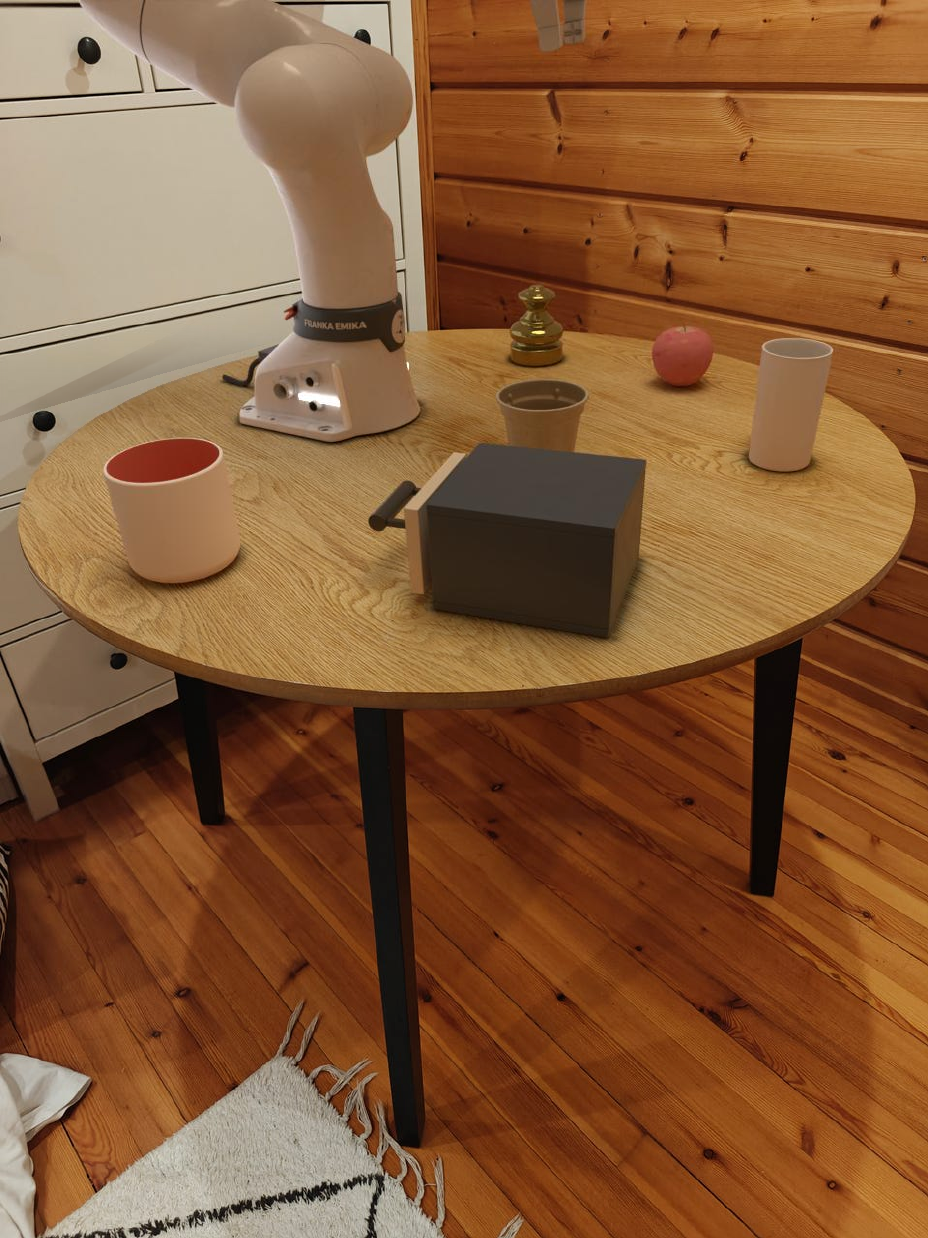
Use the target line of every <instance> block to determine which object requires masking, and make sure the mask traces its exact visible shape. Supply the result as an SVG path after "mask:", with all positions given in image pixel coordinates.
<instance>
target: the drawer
mask: <svg viewBox="0 0 928 1238" xmlns="http://www.w3.org/2000/svg"><path fill="white" fill-rule="evenodd" d="M466 458H467V453H464V452H455V451H454V452H452V454H451V455H450V456H449V457H448V458H447V460H445V462H444V463H443V464H442V465H441V466H440V467H439V468H438V470H436V471H435V473H434V474H433V475H432V476H431V477H430V478H429V480H428V481H427V482H426V483H425V484H424V485H423V486H422V487H418V486H417V485H416V484H415V483H414V482H413V481H411V480H409V479H408V480H403V481H402V482H401V483H400V484H399V485H398V486H397V487H396V488H395V489H394V490H393V491H392V492H391V493H390V494H389V496H388V497H386V499H384V501H383V502H382V503H380V505H379V506H378V507H377V508H376V509H375V510H374V511H373V513H371V514H370V516H369V517H368V519H367V521H368V526H369V528H370V529H372V530H373V531H375V532H379V533H380V532H383V531H384V530H385V529H386V528H387V527H388V528H395V529H401V530H405V537H406V539H405V540H406V551H407V562H408V574H409V575H408V576H409V585H410V593H412V594H417V595H425V594H426V592H427V591H428V590H429V588H430V587H431V586H432V578H431V563H430V548H429V533H428V518H427V506H426V505H427V503H428V502H429V501H430V500H431V499H432V497H433V496H434V495H435V494H436V493H437V492H438V490H439V489H440V488H441V487H442V486H443V485H444V483H445V482H446V481H447V480H448V479H449V478H450V476H451V475H452V474H453V473H454V472H455V471H456V469H457V468H458V467H459V466H460V465H461V463H462V462H463V461H464V460H465V459H466ZM402 510H403V512H404V518H396V517H397V516H398V515H399V514H400V512H402Z"/></svg>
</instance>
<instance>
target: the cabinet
mask: <svg viewBox="0 0 928 1238" xmlns="http://www.w3.org/2000/svg"><path fill="white" fill-rule="evenodd" d="M646 470H647V459H644V458H636V457H634V458H633V457H625V456H616V455H614V456H613V455H605V454H595V453H586V452H575V451H574V452H567V451H557V450H547V449H538V448H528V447H518V446H509V444H496V443H490V442H489V443H488V442H478V443H477V445H476V446H475V447H474V448H473V449H472V451H471V452H470V453H469V454H468V455H466V459H465V460H464V461H463V462H462V463H461V465H460V466H459V467H458V468H457V469H456V471H455V472H454V473H453V474H452V475H451V476H450V478H449V479H448V480H447V481H446V482H445V483H444V485H443V486H442V487H441V488H440V489H439V490H438V492H437V493H436V494H435V495H434V496H433V497H432V499H431V500H430V501H429V502H428V503H427V505H426V506H427V518H428V533H429V548H430V563H431V578H432V584H431V590H432V591H431V592H432V606H433V610H436V611H441V612H448V613H454V614H459V615H464V616H465V615H466V616H472V617H476V618H477V617H478V618H483V619H484V618H485V619H491V620H497V621H502V622H509V623H513V624H520V625H521V624H522V625H527V626H532V627H539V628H543V629H545V628H546V629H551V630H557V631H562V632H563V631H564V632H569V633H574V634H582V635H587V636H588V635H589V636H594V637H599V638H600V637H601V638H606V639H608V638H610V634H611V632H612V630H613V627H614V625H615V622H616V620H617V617H618V614H619V612H620V609H621V607H622V604H623V601H624V599H625V596H626V593H627V591H628V588H629V586H630V583H631V581H632V578H633V576H634V573H635V570H636V568H637V565H638V562H639V560H640V559H639V558H640V546H641V545H640V544H641V532H642V521H643V520H642V519H643V507H644V495H645V494H644V493H645V482H646Z"/></svg>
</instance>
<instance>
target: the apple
mask: <svg viewBox="0 0 928 1238" xmlns="http://www.w3.org/2000/svg"><path fill="white" fill-rule="evenodd" d="M713 356H714V345H713V341H712V339H711V337H710V335H709V334H708V333H707V332H705V331H704V330H703V329H701V328H699V327H696V326H693V325H692V326H690V325H686V324H685V322H684V321H683V322H682V326H681V325H680V326H674V327H670V328H668V329H665V330H664V331H663V332H661V333H660V334H659V335H658V337H657V338H656V339H655V341H654V343H653V346H652V350H651V359H652V364H653V367H654V369H655V372H656V373H657V375H658V376H659V377H660V379H662V380H663V381H664V382H665V383H667V384H669V385H672V386H676V387H687V386H692V385H693V384H696V383H697V382H699V380H701V378H702V377H703V376H704V375H705V374H706V372H707V371H708V369H709V367H710V366H711V363H712V360H713Z"/></svg>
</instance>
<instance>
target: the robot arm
mask: <svg viewBox="0 0 928 1238" xmlns="http://www.w3.org/2000/svg"><path fill="white" fill-rule="evenodd" d="M529 2H530V3H529V4H530V8H531V11H532V15H533V18H534V21H535V22H534V23H535V25H536V28H537V36H538V47H539V49H540V52H543V53H547V52H553V51H558V50H560V49H562V47H563V45H564V44H565V45H568V46H569V45H570V46H571V45H576V44H580V43H583V42H584V41H585V40H586V24H585V23H586V22H585V19H586V9H587V0H561V2H563V3H562V5H563V23H562V24H561V22H560V13H559V5H558V0H529ZM78 3H79V5H80V7H81V8H82V9H83V11H84V13H86V16H88V17H89V18H90V19H91V20H92V21H93V22H94V23H95V24H96V25H98V26H99V28H101V29H102V30H103V31H104V32H105V33H106V34H108V35H109V36H110V37H111V38H112V39H114V41H116V42H118V44H120V45H121V46H122V47H124V48H125V49H126V50H128V51H129V52H131V53H132V54H133V55H135V56H136V57H138V58H140V59H141V60H143V61H144V62H145V63H148V64H149V65H151V66H152V67H154V68H155V69H157V70H159V71H161V72H162V73H164V74H165V75H168V76H169V77H171V78H172V79H174V80H175V81H176V82H177V81H178V82H179V83H181V84H182V85H184V86H186V87H188V88H189V89H190V90H192V91H194V92H196V93H198V94H200V95H201V96H203V97H204V98H207V99H208V100H210V101H211V102H213V103H215V104H217V105H219V106H221V107H225V108H228V109H234V116H235V121H236V125H237V130H238V132H239V134H240V136H241V139H242V141H243V142H244V145H245V146H246V147H247V149H248V150H249V151H250V153H251V154H252V155H253V156H254V157H255V158H256V159H257V160H258V161H259V162H260V163H261V164H262V165H263V166H264V167H265V168H266V169H267V171H268V173H269V174H270V176H271V179H272V180H273V183H274V185H275V188H276V189H277V191H278V194H279V197H280V199H281V201H282V204H283V206H284V209H285V211H286V215H287V217H288V222H289V224H290V225H289V226H290V228H291V233H292V238H293V241H294V248H295V254H296V262H297V268H298V274H299V275H298V276H299V281H300V288H301V296H302V298H300V299H298V300H297V301H295V302H294V303H293V304H291V306H290V307H289V308H286V309H285V310H284V311H283V313H284V314H285V313H287V314H286V316H285V317H284V320H285V321H288V320H290V319H292V318H293V322H294V323H293V328H292V332H291V333H290V334H289V335H288V336H287V337H285V339H284V340H282V341H281V342H280V343H278V344H275V345H273V346H269V347H267V348H264V349H261V350H258V351H257V353H258V357H257V358H255V359H254V360H253V361H252V362H251V363H250V365H249V367H248V372H247V375H246V376H247V377H246V379H244V380H240V379H237V378H235V377H232V376H230V375H228V374H222V376H221V378H222V380H224V381H226V382H229V383H231V384H233V385H235V386H239V387H247V386H249V385H250V384H251V383H252V381H253V378H254V396H253V397H251V398H250V399H248V401H246V403H244V404H243V405H242V407H241V408H240V410H239V413H238V415H239V422H240V424H243V425H247V426H251V427H256V428H261V429H266V430H269V431H274V432H275V431H276V432H279V433H283V434H290V435H294V436H299V437H303V438H309V439H311V440H312V439H313V440H317V441H322V442H326V443H327V442H328V443H334V442H335V443H336V442H339V441H343V440H344V441H345V440H347V439H351V438H353V437H358V436H362V435H363V436H364V435H371V434H376V433H383V432H386V431H390V430H394V429H397V428H399V427H402V426H404V425H407V424H409V423H410V422H412V421H413V420H415V419H416V418H417V417H418V416H419V415H420V413H421V407H420V404H419V401H418V398H417V396H416V393H415V389H414V386H413V383H412V378H411V376H410V375H411V374H410V371H409V368H410V367H409V362H408V361H407V356H406V350H405V343H406V318H405V313H404V304H403V303H404V302H403V295H402V294H401V292H399V284H398V272H397V260H396V247H395V234H394V226H393V221H392V220H391V218H390V216H389V215H388V213H387V212H386V211H385V210H384V209H383V207H382V206H381V204H380V202H379V199H378V197H377V195H376V192H375V188H374V185H373V182H372V178H371V176H370V173H369V167H368V162H367V158H369V157H372V156H375V155H377V154H380V153H381V152H384V151H385V150H387V148H388V147H389V146H391V145H392V144H393V143H394V142H395V141H396V140H397V139H398V138H399V137H400V135H401V134H402V133H403V132H404V131H405V129H406V128H407V126H408V124H409V122H410V119H411V116H412V112H413V105H414V96H413V88H412V83H411V81H410V78H409V75H408V73H407V72H406V70H405V68H404V66H403V64H401V62H400V61H399V60H398V59H397V58H396V57H394V56H393V55H392V54H391V53H389V52H387V51H385V50H383V49H381V48H378V47H376V46H374V45H371V44H369V43H366V42H364V41H362V40H360V39H357V37H354V36H352V35H351V34H350V35H349V34H348V33H346V32H343V31H341V30H339V29H337V28H335V27H333V26H330V25H329V24H326V23H324V22H322V21H320V20H317V19H315V18H313V17H311V16H308V15H306V14H304V13H301V12H299V11H297V10H294V9H291V8H290V7H287V6H284V5H282V4H279V3H277V2H276V1H275V2H274V1H272V0H78ZM255 369H256V371H255Z"/></svg>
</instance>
